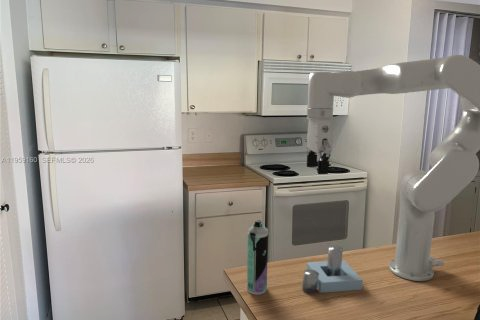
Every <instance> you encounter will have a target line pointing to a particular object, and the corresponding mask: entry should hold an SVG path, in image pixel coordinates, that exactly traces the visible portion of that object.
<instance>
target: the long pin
mask: <svg viewBox="0 0 480 320" xmlns="http://www.w3.org/2000/svg"><path fill="white" fill-rule="evenodd" d="M343 250H344V249H343V247H341V246H340V245H335V244H332V245H329V246H328V250H327V260H326V261H327V273H326V275H327V277H328V276H341V265H342V260H343Z"/></svg>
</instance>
